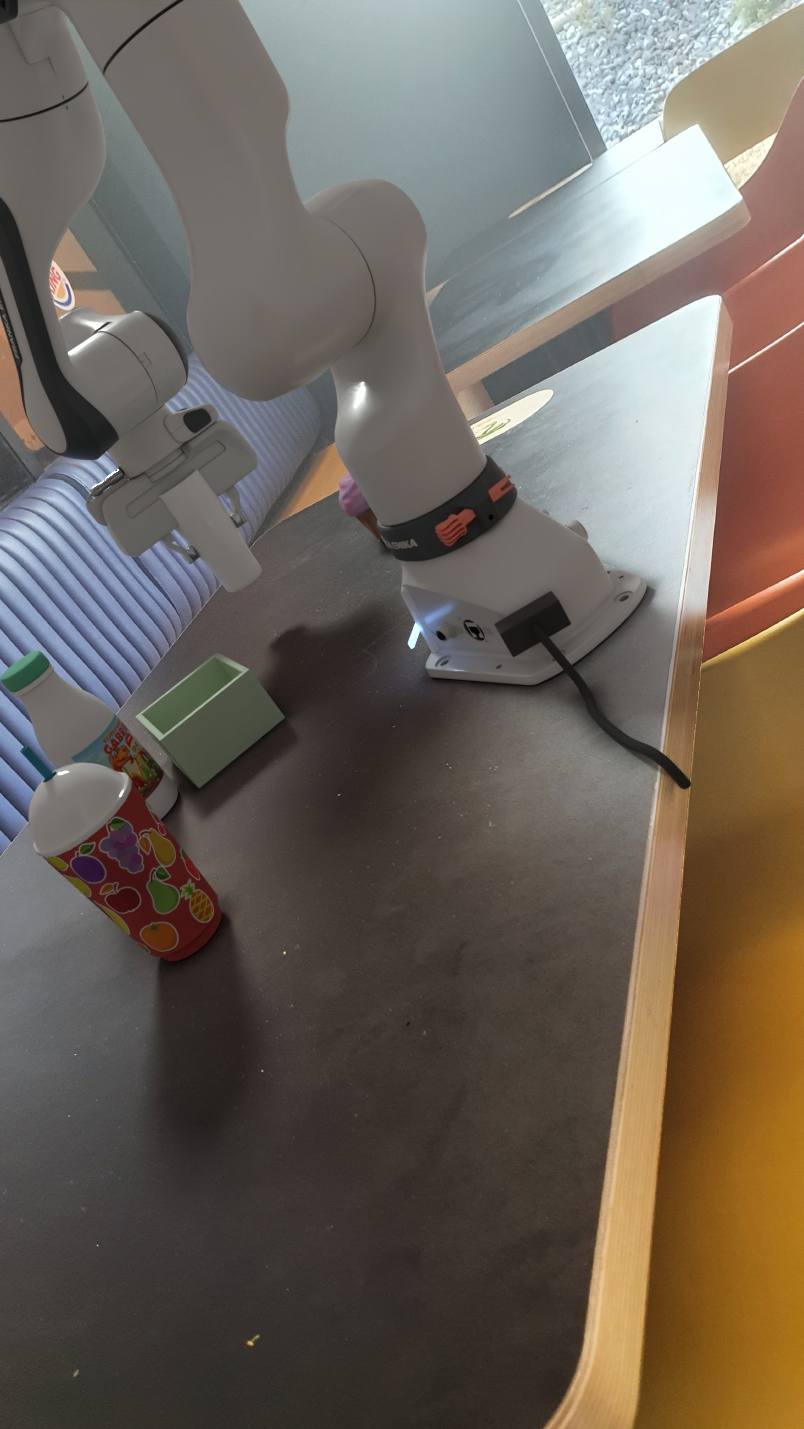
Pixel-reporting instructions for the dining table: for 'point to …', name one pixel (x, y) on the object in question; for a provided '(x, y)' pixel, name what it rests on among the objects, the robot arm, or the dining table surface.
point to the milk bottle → (84, 729)
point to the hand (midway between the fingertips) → (218, 542)
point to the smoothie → (121, 857)
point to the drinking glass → (212, 532)
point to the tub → (210, 718)
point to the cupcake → (357, 505)
